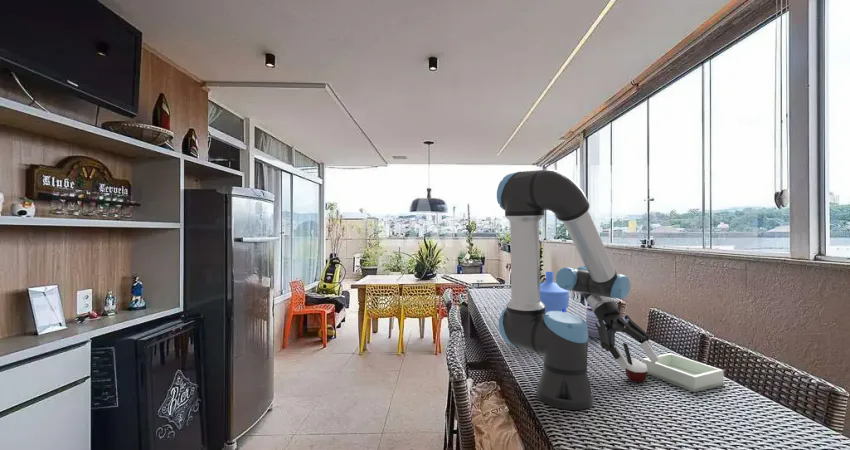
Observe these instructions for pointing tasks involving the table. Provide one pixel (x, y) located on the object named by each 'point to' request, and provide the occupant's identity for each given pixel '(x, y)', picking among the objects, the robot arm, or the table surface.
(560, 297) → the water jug
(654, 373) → the bin
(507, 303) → the robot arm
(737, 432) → the table surface
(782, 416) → the table surface
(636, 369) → the cocoa
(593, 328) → the can
